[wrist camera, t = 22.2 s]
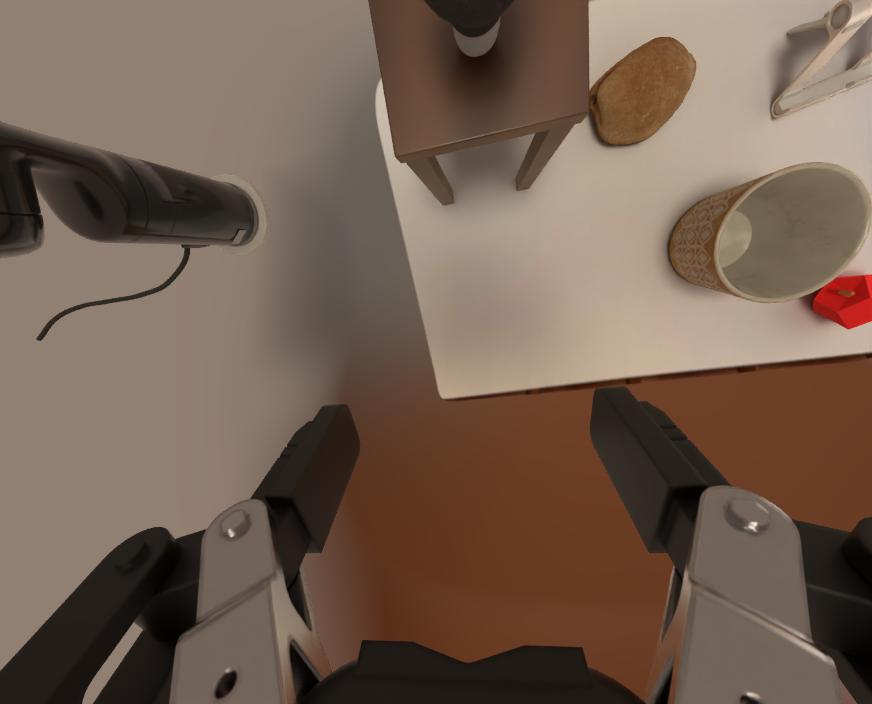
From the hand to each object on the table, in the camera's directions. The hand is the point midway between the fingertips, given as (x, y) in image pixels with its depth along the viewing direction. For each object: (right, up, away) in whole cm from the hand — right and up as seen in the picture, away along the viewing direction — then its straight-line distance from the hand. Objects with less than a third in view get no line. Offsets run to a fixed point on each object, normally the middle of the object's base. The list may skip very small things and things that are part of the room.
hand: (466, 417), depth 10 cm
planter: (+35, +16, +29) cm, 48 cm away
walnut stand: (+5, +28, +30) cm, 41 cm away
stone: (+22, +32, +26) cm, 47 cm away
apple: (+50, +9, +29) cm, 58 cm away
